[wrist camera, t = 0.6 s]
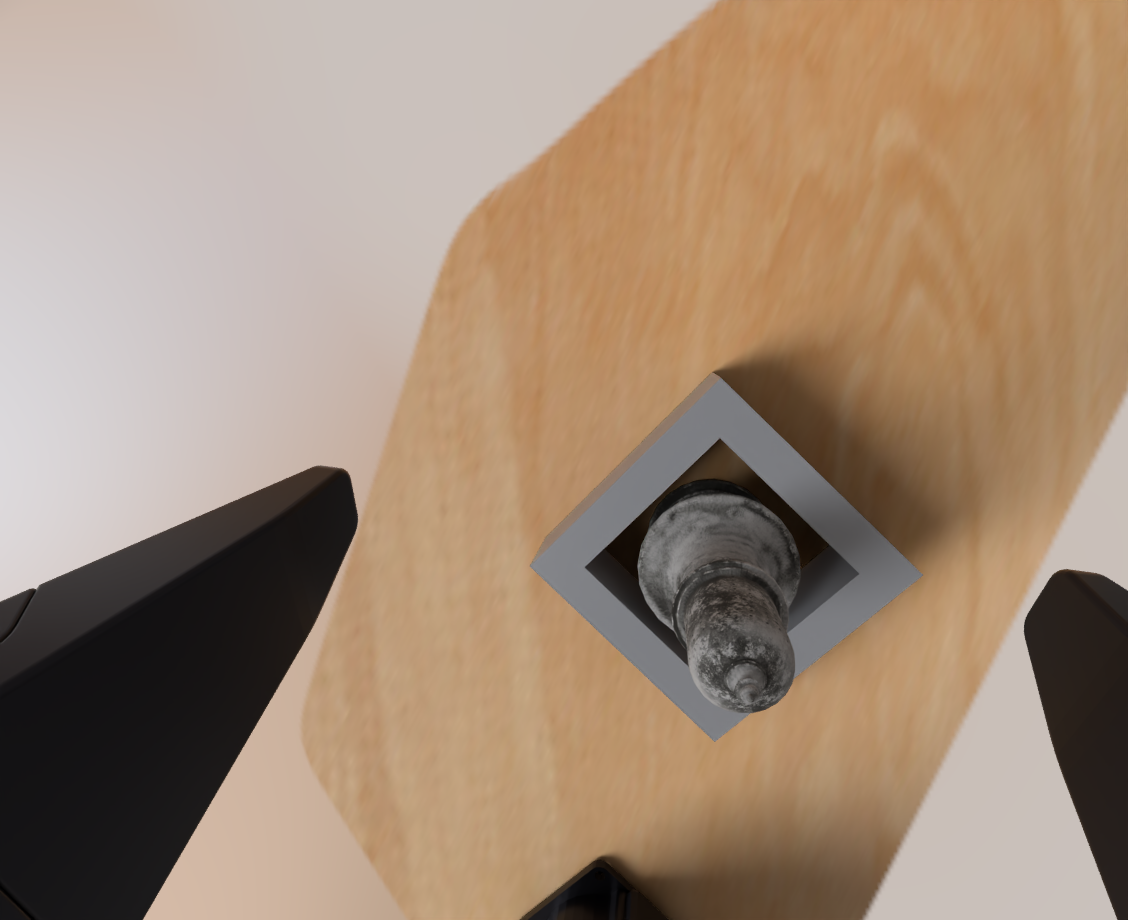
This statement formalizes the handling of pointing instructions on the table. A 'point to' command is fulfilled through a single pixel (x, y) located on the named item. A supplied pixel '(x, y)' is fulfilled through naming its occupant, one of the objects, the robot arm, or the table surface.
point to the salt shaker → (724, 590)
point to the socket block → (713, 410)
